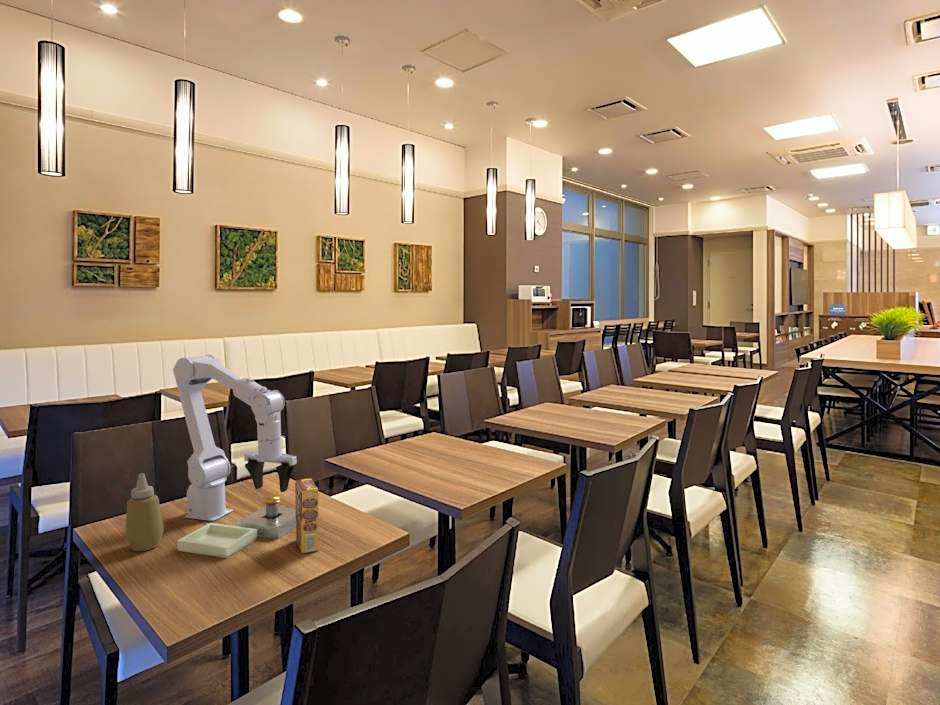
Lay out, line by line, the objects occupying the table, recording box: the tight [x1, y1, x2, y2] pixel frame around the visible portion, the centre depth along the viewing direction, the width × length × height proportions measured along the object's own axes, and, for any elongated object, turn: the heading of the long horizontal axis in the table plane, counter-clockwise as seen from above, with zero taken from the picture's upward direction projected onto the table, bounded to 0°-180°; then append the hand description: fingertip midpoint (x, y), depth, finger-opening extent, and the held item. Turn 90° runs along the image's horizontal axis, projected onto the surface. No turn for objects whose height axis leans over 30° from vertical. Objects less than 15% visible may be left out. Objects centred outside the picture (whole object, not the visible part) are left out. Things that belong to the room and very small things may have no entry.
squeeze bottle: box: [124, 472, 165, 552], centre depth 136 cm, size 8×8×18 cm
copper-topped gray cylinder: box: [262, 493, 281, 519], centre depth 148 cm, size 4×4×8 cm
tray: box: [176, 522, 258, 559], centre depth 138 cm, size 14×11×2 cm
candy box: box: [294, 478, 320, 554], centre depth 137 cm, size 9×4×15 cm, turn 26°
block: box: [237, 505, 296, 540], centre depth 149 cm, size 12×12×3 cm
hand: (271, 489), depth 148 cm, fingers open, 7 cm apart
